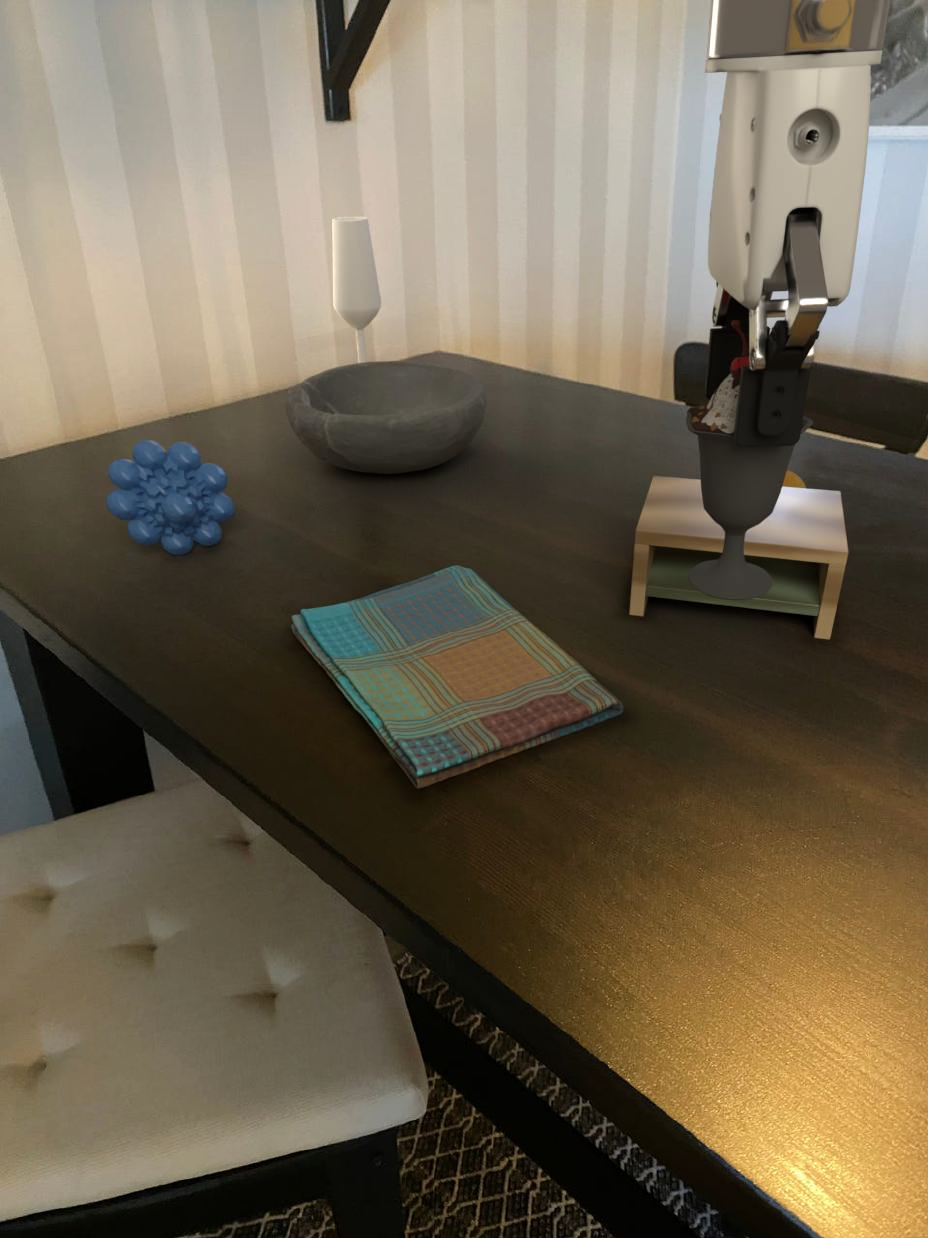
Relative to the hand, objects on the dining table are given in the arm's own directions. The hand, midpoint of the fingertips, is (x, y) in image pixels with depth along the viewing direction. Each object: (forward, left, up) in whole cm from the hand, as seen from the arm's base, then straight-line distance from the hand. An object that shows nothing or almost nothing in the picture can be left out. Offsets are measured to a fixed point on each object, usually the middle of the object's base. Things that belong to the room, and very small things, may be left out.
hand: (748, 417), depth 49 cm
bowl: (+27, -53, -23) cm, 64 cm away
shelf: (-6, -21, -23) cm, 32 cm away
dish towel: (+18, -9, -23) cm, 31 cm away
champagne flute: (+34, -81, -23) cm, 91 cm away
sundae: (0, 0, -10) cm, 10 cm away
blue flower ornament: (+45, -29, -23) cm, 58 cm away
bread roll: (-13, -40, -23) cm, 48 cm away
